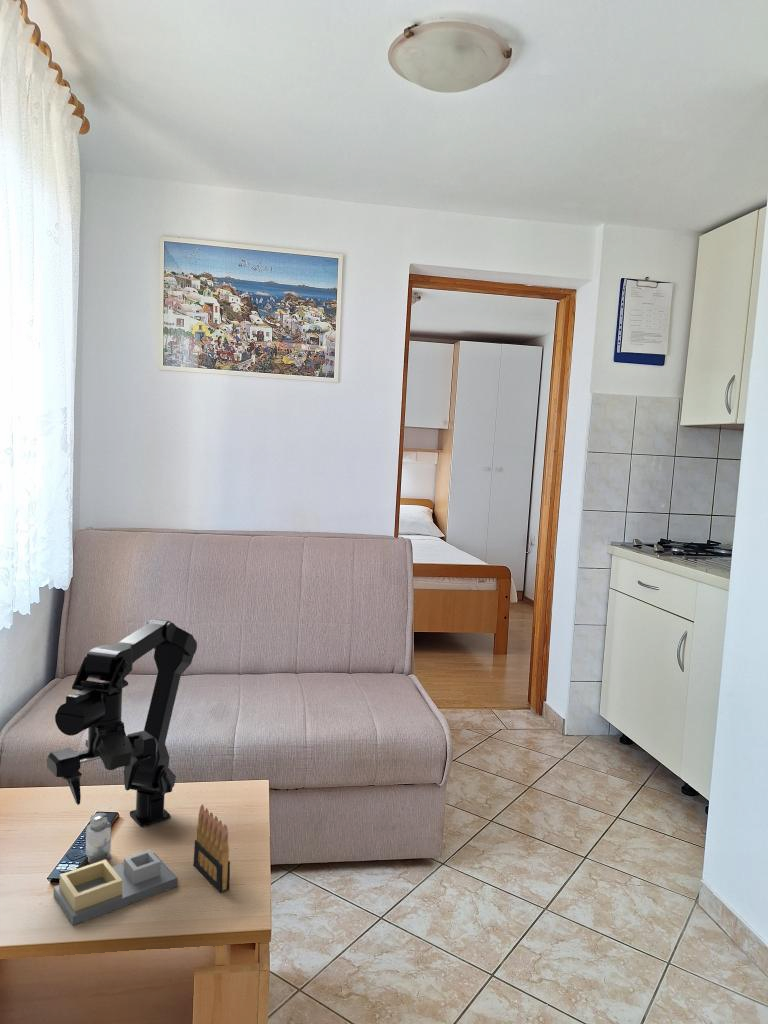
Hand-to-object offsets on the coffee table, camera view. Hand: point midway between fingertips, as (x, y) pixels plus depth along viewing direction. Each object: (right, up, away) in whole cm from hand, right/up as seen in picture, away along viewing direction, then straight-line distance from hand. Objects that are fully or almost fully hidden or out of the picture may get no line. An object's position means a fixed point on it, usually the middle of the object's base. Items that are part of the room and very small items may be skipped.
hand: (103, 796), depth 132 cm
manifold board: (+6, -13, -9) cm, 17 cm away
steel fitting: (-1, -12, +1) cm, 12 cm away
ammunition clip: (+21, -14, -3) cm, 25 cm away
